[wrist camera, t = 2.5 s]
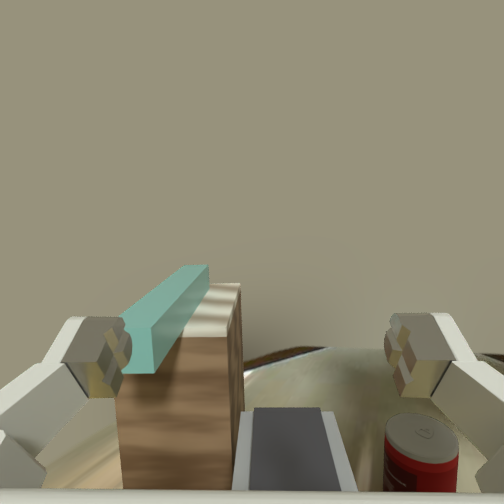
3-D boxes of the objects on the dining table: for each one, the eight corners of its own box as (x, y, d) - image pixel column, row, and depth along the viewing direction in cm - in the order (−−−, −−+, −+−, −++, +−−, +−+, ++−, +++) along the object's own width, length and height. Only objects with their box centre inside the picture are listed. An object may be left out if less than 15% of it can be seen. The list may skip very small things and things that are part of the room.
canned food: (456, 506, 41) (462, 426, 40) (448, 563, 35) (455, 470, 33) (391, 478, 46) (394, 404, 44) (374, 523, 40) (377, 439, 38)
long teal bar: (154, 373, 24) (150, 327, 24) (107, 373, 25) (103, 328, 24) (209, 288, 48) (208, 264, 48) (185, 288, 48) (184, 265, 48)
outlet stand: (235, 551, 37) (226, 327, 33) (129, 549, 37) (107, 328, 34) (245, 435, 55) (240, 282, 51) (174, 435, 56) (163, 283, 52)
